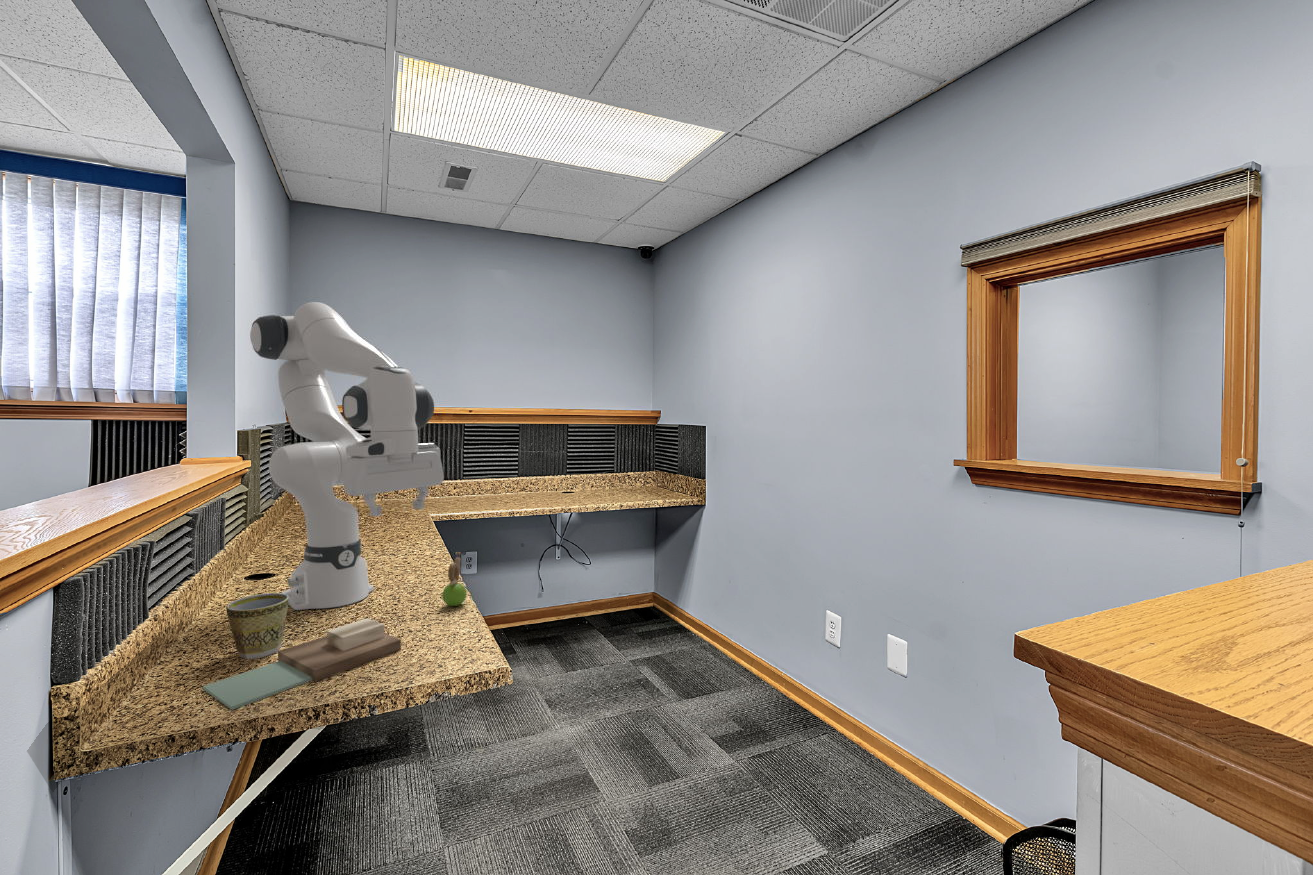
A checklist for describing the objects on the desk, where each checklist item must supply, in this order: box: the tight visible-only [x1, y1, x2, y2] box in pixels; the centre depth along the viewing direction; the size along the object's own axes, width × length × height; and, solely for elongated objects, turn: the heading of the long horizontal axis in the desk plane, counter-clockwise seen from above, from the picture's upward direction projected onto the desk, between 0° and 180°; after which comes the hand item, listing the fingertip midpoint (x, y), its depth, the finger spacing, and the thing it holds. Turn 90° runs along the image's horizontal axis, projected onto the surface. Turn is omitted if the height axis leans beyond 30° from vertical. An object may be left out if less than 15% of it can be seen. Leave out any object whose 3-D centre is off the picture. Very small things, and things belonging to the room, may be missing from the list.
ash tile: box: [326, 617, 385, 651], centre depth 114 cm, size 6×8×2 cm
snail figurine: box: [441, 551, 467, 607], centre depth 140 cm, size 5×6×12 cm
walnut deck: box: [277, 632, 402, 682], centre depth 112 cm, size 14×16×2 cm
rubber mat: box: [202, 660, 313, 711], centre depth 100 cm, size 12×12×1 cm
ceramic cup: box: [225, 592, 289, 660], centre depth 115 cm, size 13×10×10 cm
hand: (398, 512), depth 121 cm, fingers open, 8 cm apart
